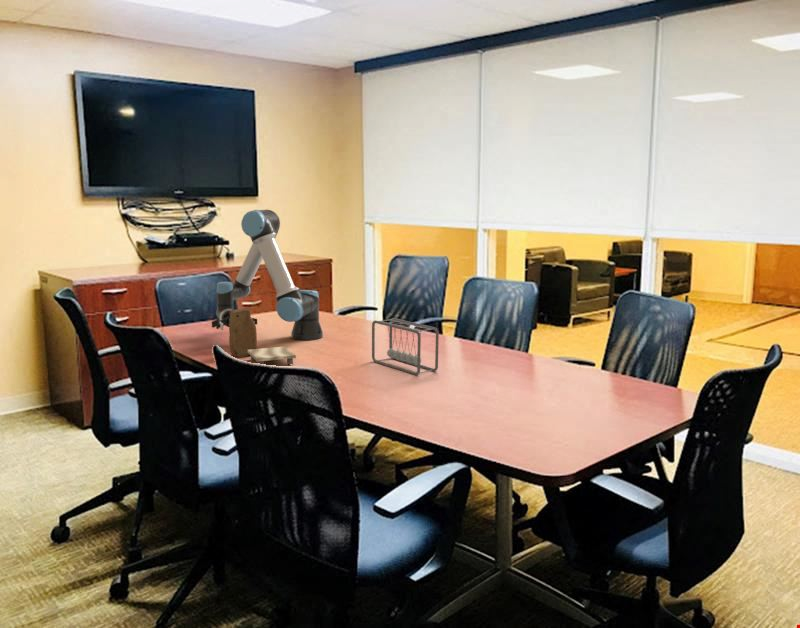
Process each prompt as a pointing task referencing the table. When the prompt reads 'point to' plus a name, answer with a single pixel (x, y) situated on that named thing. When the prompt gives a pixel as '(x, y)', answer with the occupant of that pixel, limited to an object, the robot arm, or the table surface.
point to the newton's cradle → (403, 355)
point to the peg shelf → (271, 354)
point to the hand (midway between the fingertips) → (238, 326)
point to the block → (242, 332)
